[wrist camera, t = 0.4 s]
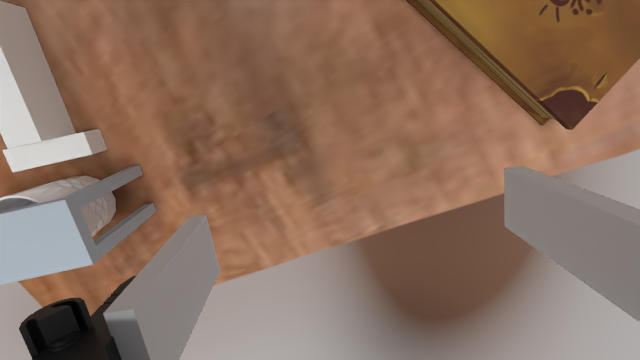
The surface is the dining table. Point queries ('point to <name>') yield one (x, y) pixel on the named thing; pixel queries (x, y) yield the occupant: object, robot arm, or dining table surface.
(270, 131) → the dining table surface
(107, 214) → the white cup
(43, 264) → the bridge
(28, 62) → the white l-shaped block
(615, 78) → the diary
